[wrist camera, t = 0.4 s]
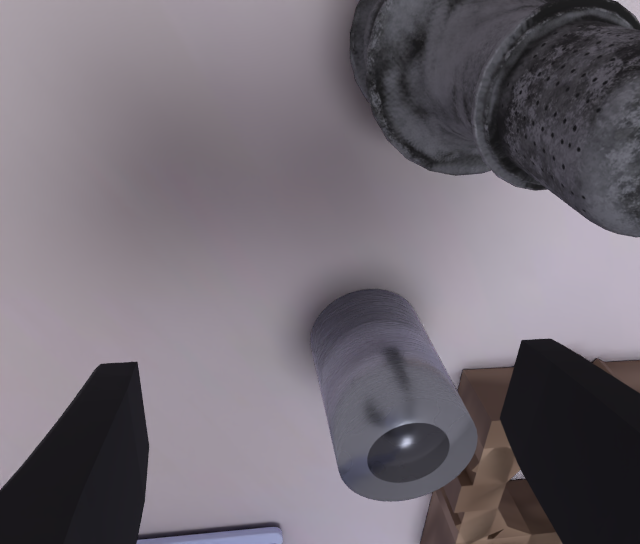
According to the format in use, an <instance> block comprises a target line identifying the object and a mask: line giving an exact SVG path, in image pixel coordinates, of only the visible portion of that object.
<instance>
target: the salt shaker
mask: <svg viewBox="0 0 640 544" xmlns="http://www.w3.org/2000/svg"><path fill="white" fill-rule="evenodd" d="M350 60H351V64H352V68H353V72H354V76H355V80H356V82H357V84H358V86H359V87H360V89H361V91H362V93H363V95H364V96H365V98H366V100H367V101H368V102H369V103H370V104H371V108H372V112H373V115H374V117H375V119H376V121H377V123H378V124H379V126H380V128H381V130H382V132H383V133H384V135H385V137H386V139H387V140H388V141H389V142H390V143H391V144H392V145H393V146H394V147H395V148H396V149H397V150H398V151H399V152H400V153H401V154H402V155H403V156H404V157H405V158H406V159H408V160H410V161H412V162H414V163H416V164H418V165H420V166H422V167H424V168H426V169H427V170H429V171H434V172H439V173H444V174H450V175H455V176H457V175H469V174H481V173H485V172H488V171H491V170H492V171H493V172H494V173H495V175H496V176H498V177H499V178H501V179H503V180H504V181H506V182H508V183H510V184H512V185H513V186H515V187H520V188H525V189H530V190H547V189H548V190H550V191H551V192H552V193H553V194H555V195H556V196H557V197H559V198H560V199H561V200H563V201H564V202H565V203H567V204H568V205H569V206H571V207H572V208H573V209H575V210H576V211H577V212H579V213H580V214H581V215H582V216H584V217H585V218H586V219H588V220H589V221H591V222H593V223H594V224H596V225H598V226H600V227H602V228H603V229H605V230H608V231H611V232H614V233H617V234H621V235H626V236H632V237H640V23H639V21H638V20H637V18H636V16H635V15H633V14H632V13H631V12H630V11H628V10H627V9H626V8H625V7H623V6H622V5H621V4H619V3H618V2H616V1H613V0H360V2H359V4H358V6H357V8H356V11H355V15H354V20H353V24H352V28H351V32H350Z"/></svg>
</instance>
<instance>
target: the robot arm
mask: <svg viewBox="0 0 640 544" xmlns="http://www.w3.org/2000/svg"><path fill="white" fill-rule="evenodd" d="M500 421H501V424H502V426H503V429H504V431H505V434H506V437H507V439H508V442H509V444H510V447H511V449H512V451H513V454H514V456H515V458H516V461H517V463H518V465H519V467H520V469H521V471H522V473H523V475H524V477H525V478H526V480H527V482H528V484H529V485H530V487H531V489H532V491H533V493H534V494H535V496H536V498H537V500H538V502H539V503H540V505H541V507H542V509H543V510H544V512H545V514H546V515H547V517H548V519H549V521H550V522H551V524H552V526H553V528H554V529H555V531H556V533H557V535H558V536H559V538H560V540H561V542H562V543H563V544H640V393H639V392H637V391H636V390H634V389H632V388H631V387H629V386H628V385H626V384H625V383H623V382H621V381H620V380H618V379H617V378H615V377H614V376H612V375H610V374H609V373H607V372H606V371H604V370H602V369H601V368H599V367H598V366H596V365H595V364H593V363H591V362H590V361H588V360H587V359H585V358H583V357H582V356H580V355H578V354H577V353H575V352H574V351H572V350H570V349H568V348H567V347H565V346H563V345H562V344H560V343H558V342H556V341H554V340H552V339H535V340H522V341H521V344H520V348H519V351H518V355H517V358H516V362H515V365H514V369H513V373H512V376H511V380H510V383H509V387H508V390H507V394H506V397H505V401H504V404H503V408H502V411H501V415H500ZM148 454H149V442H148V435H147V427H146V420H145V413H144V406H143V399H142V391H141V384H140V377H139V370H138V363H137V362H125V363H107V364H100V365H99V366H98V367H97V368H96V369H95V370H94V372H93V373H92V374H91V376H90V377H89V379H88V380H87V382H86V383H85V384H84V386H83V387H82V389H81V390H80V391H79V393H78V394H77V396H76V397H75V398H74V400H73V401H72V402H71V404H70V405H69V406H68V408H67V409H66V410H65V412H64V413H63V414H62V416H61V417H60V418H59V420H58V421H57V422H56V424H55V425H54V426H53V427H52V429H51V430H50V431H49V432H48V434H47V435H46V436H45V437H44V439H43V440H42V441H41V442H40V444H39V445H38V446H37V447H36V449H35V450H34V451H33V452H32V454H31V455H30V456H29V457H28V459H27V460H26V461H25V462H24V463H23V465H22V466H21V467H20V468H19V469H18V470H17V472H16V473H15V474H14V475H13V476H12V477H11V478H10V480H9V481H8V482H7V483H6V484H5V485H4V486H3V487H2V489H1V490H0V544H282V543H283V536H282V530H281V529H279V528H277V527H266V528H255V529H245V530H235V531H225V532H214V533H204V534H194V535H184V536H173V537H163V538H153V539H142V540H137V538H138V533H139V528H140V523H141V518H142V512H143V507H144V502H145V491H146V480H147V467H148Z"/></svg>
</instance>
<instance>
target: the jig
mask: <svg viewBox="0 0 640 544" xmlns="http://www.w3.org/2000/svg"><path fill="white" fill-rule="evenodd" d="M580 356H581V355H580ZM593 364H595V365H596V366H598V367H599V368H601V369H602V370H604V371H606V372H607V373H609V374H610V375H612V376H614V377H615V378H617V379H618V380H620V381H621V382H623V383H625V384H626V385H628V386H629V387H631V388H632V389H634V390H636V391H637V392H639V393H640V360H637V361H618V362H603V361H601V360H599V359H598V358H597V359H596V360H595V361H594V362H593ZM513 369H514V367H508V368H490V369H472V370H463V372H462V376H461V380H460V384H459V388H458V394H459V395H460V397H461V399H462V401H463V403H464V405H465V407H466V409H467V411H468V412H469V414H470V416H471V418H472V420H473V422H474V424H475V427H476V429H477V435H478V438H477V446H476V450H475V453H474V455H473V457H472V459H471V461H470V462H469V464H468V465H467V466H466V468H465V469H464V470H463V471H462V472H461V473H460V474H459V475H458V476H457V477H456V478H455V479H453V480H452V481H451V482H449V483H448V484H446V485H445V486H443V487H441V488H440V489H438V490H436V491H434V492H433V494H432V498H431V502H430V506H429V510H428V514H427V518H426V522H425V526H424V530H423V534H422V538H421V542H420V544H563V543H562V542H561V540H560V538H559V536H558V535H557V533H556V531H555V529H554V528H553V526H552V524H551V522H550V521H549V519H548V517H547V515H546V514H545V512H544V510H543V509H542V507H541V505H540V503H539V502H538V500H537V498H536V496H535V494H534V493H533V491H532V489H531V487H530V485H529V484H528V482H527V480H526V479H524V480H512V481H509V480H510V479H511V478H512V477H513V476H514V475H515V474H516V473H517V472H519V471H520V470H521V469H520V467H519V465H518V463H517V461H516V458H515V456H514V454H513V451H512V449H511V447H510V444H509V442H508V439H507V437H506V434H505V431H504V429H503V426H502V424H501V421H500V415H501V411H502V408H503V404H504V401H505V397H506V394H507V390H508V387H509V383H510V380H511V376H512V373H513Z"/></svg>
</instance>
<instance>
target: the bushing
mask: <svg viewBox="0 0 640 544" xmlns="http://www.w3.org/2000/svg"><path fill="white" fill-rule="evenodd" d="M310 340H311V349H312V354H313V358H314V363H315V367H316V372H317V376H318V381H319V385H320V389H321V394H322V398H323V403H324V407H325V412H326V416H327V420H328V425H329V429H330V434H331V438H332V443H333V447H334V452H335V456H336V460H337V465H338V469H339V473H340V476H341V478H342V480H343V481H344V483H345V484H346V485H347V486H348V487H349V488H350V489H351V490H352V491H354V492H355V493H357V494H359V495H361V496H363V497H366V498H369V499H373V500H378V501H403V500H409V499H414V498H417V497H421V496H424V495H427V494H429V493H431V492H434V491H436V490H438V489H440V488H441V487H443V486H445V485H446V484H448V483H449V482H451V481H452V480H453V479H455V478H456V477H457V476H458V475H459V474H460V473H461V472H462V471H463V470H464V469H465V468H466V466H467V465H468V464H469V462H470V461H471V459H472V457H473V455H474V453H475V450H476V446H477V438H478V435H477V429H476V427H475V424H474V422H473V420H472V418H471V416H470V414H469V412H468V411H467V409H466V407H465V405H464V403H463V401H462V399H461V397H460V395H459V394H458V392H457V390H456V388H455V386H454V384H453V382H452V380H451V378H450V376H449V375H448V373H447V371H446V369H445V367H444V365H443V363H442V361H441V359H440V357H439V356H438V354H437V352H436V350H435V348H434V346H433V344H432V342H431V340H430V339H429V337H428V335H427V333H426V331H425V329H424V327H423V325H422V323H421V321H420V320H419V318H418V316H417V314H416V312H415V310H414V309H413V307H412V306H411V305H410V303H409V302H408V301H406V300H405V299H404V298H403V297H401V296H399V295H397V294H395V293H393V292H390V291H386V290H380V289H367V290H360V291H356V292H352V293H349V294H347V295H345V296H342V297H340V298H339V299H337V300H335V301H334V302H333V303H331V304H330V305H329V306H328V307H326V308H325V309H324V310H323V312H322V313H321V314H320V315H319V317H318V318H317V320H316V322H315V324H314V326H313V329H312V332H311V338H310Z"/></svg>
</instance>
